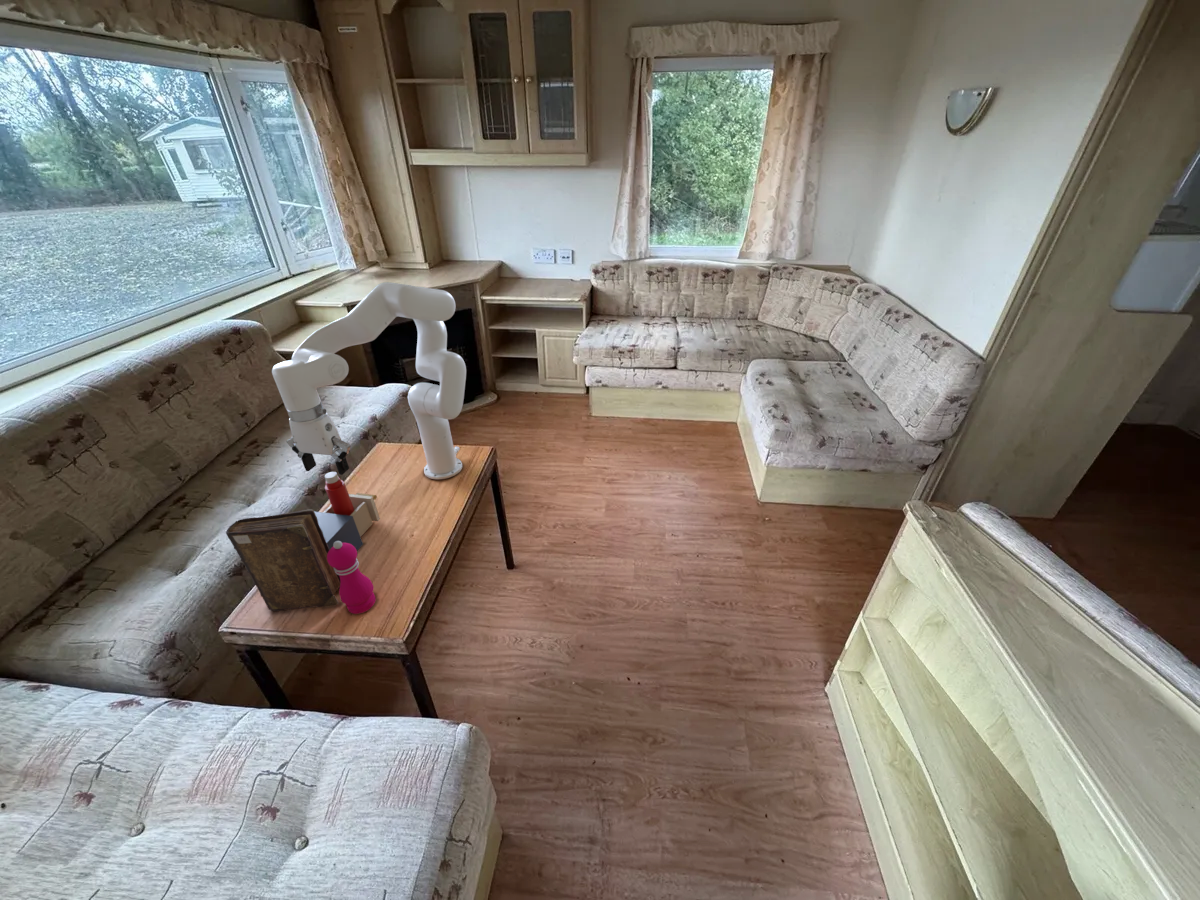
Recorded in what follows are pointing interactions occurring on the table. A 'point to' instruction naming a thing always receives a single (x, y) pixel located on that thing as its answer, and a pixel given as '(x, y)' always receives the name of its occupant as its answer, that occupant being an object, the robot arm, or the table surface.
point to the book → (287, 559)
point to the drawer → (362, 511)
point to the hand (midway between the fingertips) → (327, 470)
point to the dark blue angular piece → (339, 529)
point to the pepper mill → (351, 578)
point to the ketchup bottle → (338, 494)
